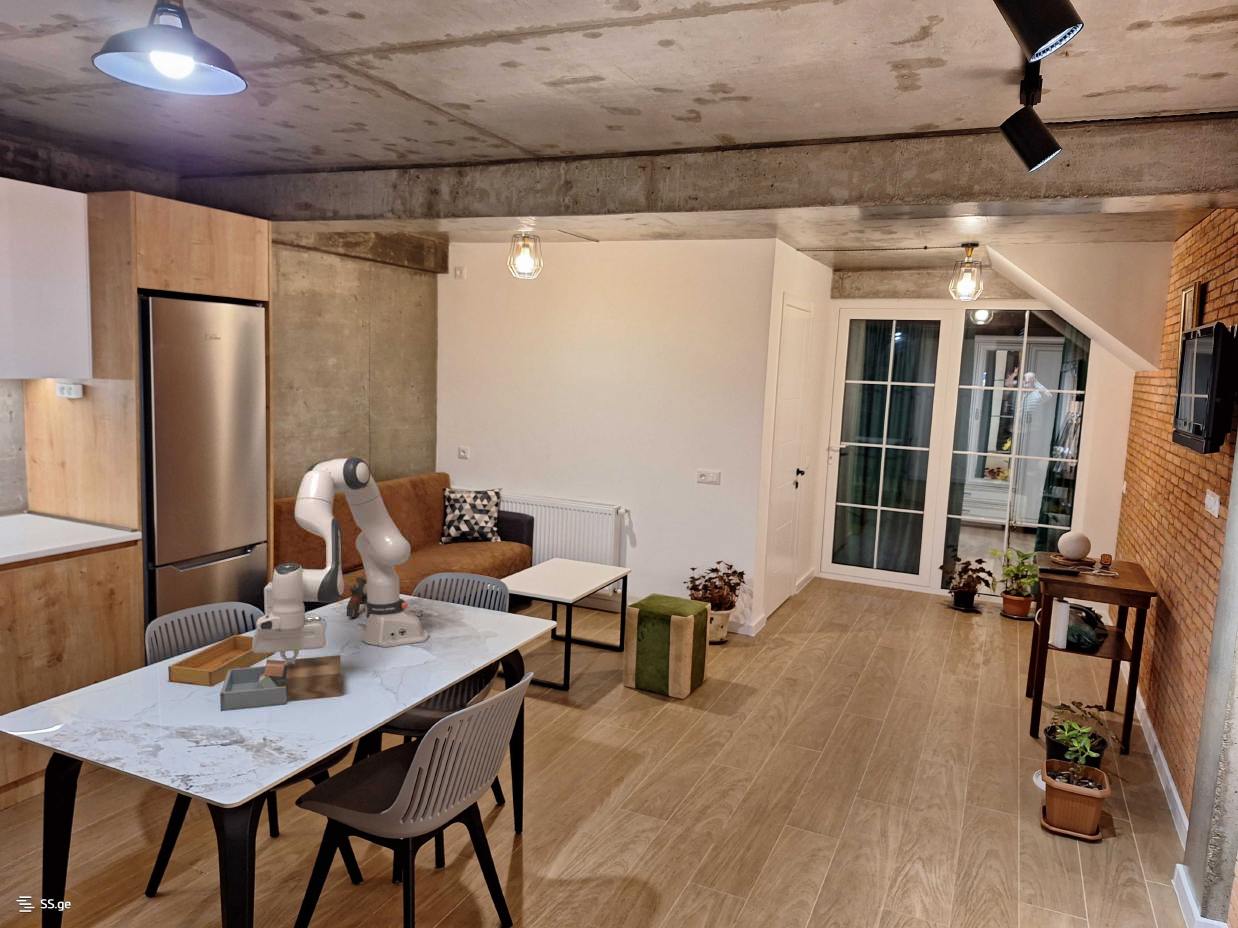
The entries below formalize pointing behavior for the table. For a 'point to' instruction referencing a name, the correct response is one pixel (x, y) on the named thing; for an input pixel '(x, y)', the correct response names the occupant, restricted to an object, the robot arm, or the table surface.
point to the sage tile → (268, 681)
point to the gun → (357, 597)
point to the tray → (215, 662)
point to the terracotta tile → (274, 668)
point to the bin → (251, 689)
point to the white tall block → (268, 599)
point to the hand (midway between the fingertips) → (289, 664)
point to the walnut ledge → (314, 678)
